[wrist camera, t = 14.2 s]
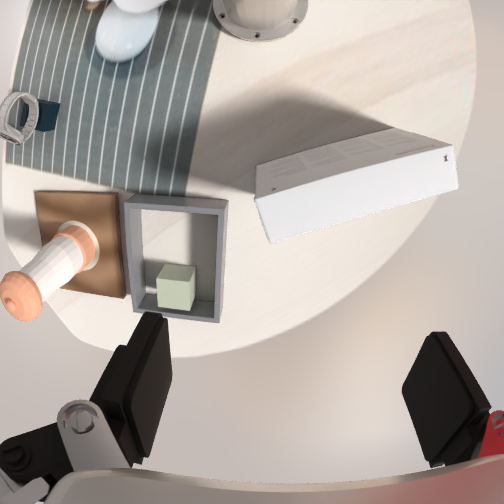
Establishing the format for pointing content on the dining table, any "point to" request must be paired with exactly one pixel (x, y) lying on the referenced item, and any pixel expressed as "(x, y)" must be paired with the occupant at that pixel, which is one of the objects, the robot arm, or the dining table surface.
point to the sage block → (176, 286)
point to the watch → (27, 117)
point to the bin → (135, 253)
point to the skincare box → (350, 180)
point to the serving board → (99, 228)
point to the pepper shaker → (46, 272)
